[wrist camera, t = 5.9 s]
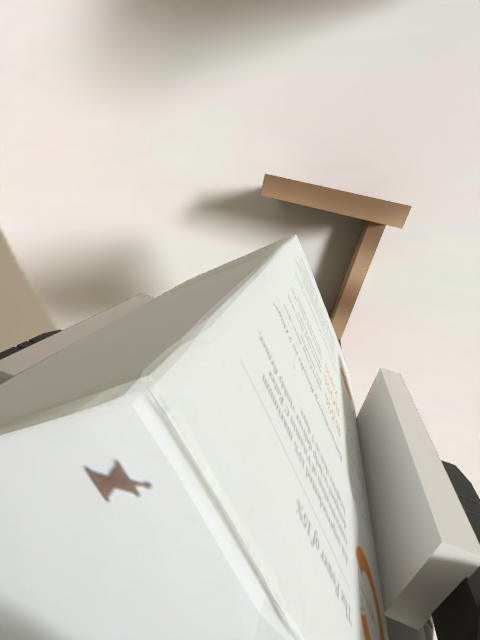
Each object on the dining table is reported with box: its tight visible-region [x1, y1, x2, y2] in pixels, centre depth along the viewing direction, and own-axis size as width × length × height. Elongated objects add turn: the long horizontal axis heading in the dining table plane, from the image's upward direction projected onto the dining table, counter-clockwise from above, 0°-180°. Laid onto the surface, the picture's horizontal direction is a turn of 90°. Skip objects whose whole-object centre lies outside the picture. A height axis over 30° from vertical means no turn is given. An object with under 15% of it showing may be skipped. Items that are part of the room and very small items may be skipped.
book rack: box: [260, 174, 412, 350], centre depth 27 cm, size 19×10×12 cm, turn 167°
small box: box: [0, 234, 389, 640], centre depth 10 cm, size 8×6×13 cm
